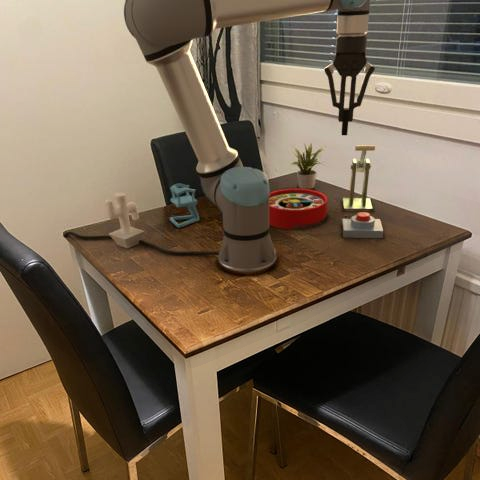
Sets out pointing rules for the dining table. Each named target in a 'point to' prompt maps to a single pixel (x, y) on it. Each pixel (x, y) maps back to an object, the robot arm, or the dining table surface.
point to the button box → (362, 228)
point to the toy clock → (296, 207)
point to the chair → (184, 204)
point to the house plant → (307, 167)
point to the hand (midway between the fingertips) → (344, 134)
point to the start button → (363, 216)
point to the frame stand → (362, 202)
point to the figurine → (124, 221)
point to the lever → (363, 155)
